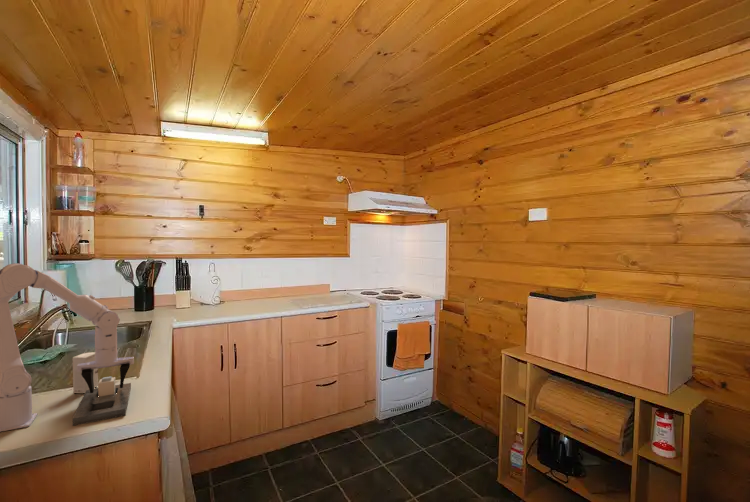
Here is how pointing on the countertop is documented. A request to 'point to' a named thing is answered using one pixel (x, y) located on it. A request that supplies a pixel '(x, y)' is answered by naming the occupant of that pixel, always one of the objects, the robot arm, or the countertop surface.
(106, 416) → the panel
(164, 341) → the countertop surface
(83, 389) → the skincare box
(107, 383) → the plug
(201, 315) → the countertop surface
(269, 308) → the countertop surface
